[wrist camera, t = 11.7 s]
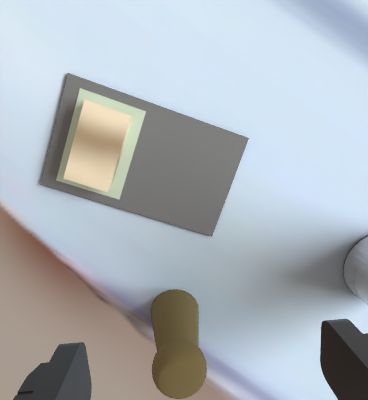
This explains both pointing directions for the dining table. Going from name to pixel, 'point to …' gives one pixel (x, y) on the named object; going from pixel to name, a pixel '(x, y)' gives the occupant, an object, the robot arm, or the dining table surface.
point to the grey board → (151, 159)
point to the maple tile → (97, 146)
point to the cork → (177, 345)
